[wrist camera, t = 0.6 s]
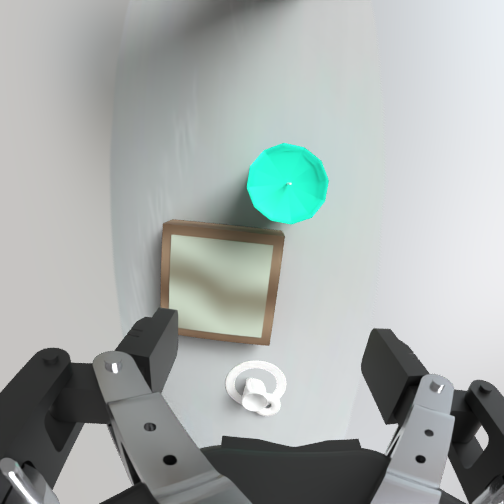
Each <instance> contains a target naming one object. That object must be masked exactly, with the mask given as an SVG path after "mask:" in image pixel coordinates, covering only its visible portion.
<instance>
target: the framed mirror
mask: <svg viewBox="0 0 504 504" xmlns="http://www.w3.org/2000/svg"><path fill="white" fill-rule="evenodd" d="M284 239H285V236H284V234H283V232H282V231H280V230H271V229H262V228H253V227H244V226H234V225H225V224H215V223H205V222H195V221H184V220H174V219H172V220H170V221H168V222H166V223H163V233H162V256H161V308H168V309H174V310H178V335H183V336H190V337H197V338H204V339H212V340H220V341H228V342H237V343H246V344H257V345H267V346H269V344H270V338H271V331H272V324H273V318H274V311H275V304H276V297H277V290H278V283H279V276H280V269H281V261H282V254H283V246H284Z"/></svg>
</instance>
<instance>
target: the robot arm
mask: <svg viewBox="0 0 504 504" xmlns="http://www.w3.org/2000/svg"><path fill="white" fill-rule="evenodd" d="M177 351H178V310H174V309H168V308H161V307H159V308H158V310H157V311H156V312H155V314H154V315H153V317H152V318H149V317H144V318H143V319H141V320H139V321H137V322H136V323H135V324H134V326H133V327H132V328H131V330H130V331H129V332H128V333H127V335H126V336H125V337H124V339H123V340H122V341H121V343H120V344H119V345H118V347H117V348H116V349H115V351H108V352H104V353H101V354H99V355H98V356H96V357H95V359H94V360H93V363H89V364H88V363H87V364H86V363H71V360H70V356H69V354H68V353H67V352H66V351H64V350H62V349H59V348H47V349H43V350H41V351H39V352H37V353H36V354H35V355H34V356H33V357H32V358H31V359H30V360H29V362H27V364H26V365H25V366H24V367H23V368H22V369H21V370H20V371H19V372H18V373H17V374H16V376H15V377H14V378H13V379H12V380H11V381H10V382H9V384H8V385H7V386H6V387H5V388H4V389H3V390H2V392H1V393H0V504H60V503H59V500H58V498H57V496H56V495H55V493H54V492H53V491H52V490H53V487H54V485H55V483H56V481H57V479H58V476H59V474H60V472H61V470H62V468H63V466H64V463H65V462H66V459H67V457H68V455H69V453H70V451H71V449H72V447H73V445H74V443H75V441H76V439H77V437H78V435H79V433H80V431H81V429H82V427H83V425H84V423H99V424H107V427H108V430H109V432H110V434H111V437H112V440H113V442H114V444H115V446H116V449H117V451H118V453H119V456H120V458H121V460H122V462H123V465H124V467H125V469H126V472H127V474H128V477H129V479H130V481H131V483H132V485H133V486H132V487H130V488H128V489H126V490H125V491H123V492H121V493H119V494H117V495H115V496H113V497H111V498H109V499H107V500H106V501H104V502H101V503H99V504H466V503H464V502H462V501H460V500H459V499H457V498H455V497H453V496H452V495H450V494H448V493H446V492H445V491H443V490H441V489H440V488H439V486H440V482H441V479H442V475H443V471H444V468H445V464H446V460H447V456H448V458H449V459H450V462H451V464H452V466H453V468H454V470H455V473H456V475H457V477H458V479H459V481H460V483H461V486H462V488H463V491H464V493H465V495H466V497H467V500H468V502H469V504H504V397H503V396H502V395H501V394H500V392H499V391H498V390H497V388H496V387H495V386H493V385H492V384H490V383H489V382H486V381H483V380H475V381H473V382H472V383H471V385H470V387H469V389H468V390H467V391H462V390H454V387H453V384H452V383H451V382H450V381H449V380H448V379H446V378H445V377H443V376H440V375H436V374H429V372H428V371H427V370H426V368H425V367H424V366H423V364H422V363H421V362H420V360H418V358H417V357H416V355H415V354H413V351H412V350H411V349H410V348H409V346H407V345H406V344H405V343H403V342H402V341H400V340H399V339H398V338H397V337H396V336H395V334H394V333H393V332H392V330H391V329H373V330H372V331H371V333H370V336H369V339H368V343H367V346H366V349H365V352H364V355H363V358H362V363H361V371H362V374H363V376H364V378H365V381H366V383H367V385H368V387H369V389H370V391H371V393H372V396H373V398H374V400H375V402H376V404H377V406H378V409H379V411H380V413H381V415H382V417H383V420H384V422H385V424H386V425H387V424H396V423H398V428H397V429H396V431H395V433H394V435H393V437H392V439H391V441H390V443H389V445H388V448H387V450H386V452H385V454H382V453H379V452H377V451H373V450H369V449H364V448H361V446H360V443H359V440H358V439H350V440H327V441H323V442H319V443H314V444H309V445H304V446H299V447H290V446H285V445H281V444H276V443H272V442H268V441H264V440H260V439H251V438H239V437H229V436H222V443H221V445H217V446H209V447H204V448H200V449H199V448H198V447H197V445H196V444H195V443H194V441H193V440H192V439H191V437H190V436H189V434H188V433H187V432H186V430H185V429H184V427H183V426H182V424H181V423H180V422H179V420H178V419H177V417H176V416H175V414H174V413H173V411H172V410H171V408H170V407H169V405H168V404H167V402H166V401H165V399H164V398H163V396H162V395H161V392H162V390H163V388H164V385H165V383H166V380H167V378H168V375H169V373H170V371H171V368H172V366H173V363H174V361H175V359H176V356H177ZM481 425H482V426H483V428H484V429H485V431H486V432H487V434H488V436H489V442H488V445H487V447H486V449H485V450H484V451H483V449H482V448H481V446H480V444H479V442H478V441H477V439H476V437H475V436H474V435H475V434H476V433H477V431H478V429H479V428H480V426H481Z"/></svg>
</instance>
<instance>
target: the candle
mask: <svg viewBox="0 0 504 504" xmlns="http://www.w3.org/2000/svg"><path fill="white" fill-rule="evenodd" d="M328 182H329V180H328V177H327V175H326V172H325V169H324V167H323V164H322V161H321V160H320V159H318V158H317V157H316V156H315V155H313V154H312V153H311V152H310V151H308V150H307V149H306V148H304V147H300V146H296V145H291V144H287V143H282V144H280V145H277V146H274V147H271V148H269V149H266V150H264V151H263V152H262V153H261V154H260V155H259V156H258V158H257V159H256V160H255V161H254V162H253V163H252V165H251V166H250V170H249V176H248V182H247V190H248V192H249V195H250V197H251V200H252V203H253V205H254V208H256V209H257V210H258V211H259V212H261V213H262V214H263V215H264V216H266V217H267V218H268V219H269V220H271V221H276V222H281V223H287V224H294V223H297V222H300V221H303V220H306V219H309V218H312V217H313V216H314V214H315V213H316V212H317V211H318V209H319V208H320V207H321V206H322V204H323V203H324V202H325V199H326V193H327V188H328Z"/></svg>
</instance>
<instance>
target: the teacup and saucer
mask: <svg viewBox="0 0 504 504" xmlns="http://www.w3.org/2000/svg"><path fill="white" fill-rule="evenodd" d="M251 368H260V369H264V370H267V371H269V372H270V373H272V374H273V375H274V377H275V378H276V381H277V387H276V390H275V391H274V393H273V394H269V393H267V392H266V388H265V385H264V384H263V382H262V381H261V380H259V379H253V378H248V379H246V385H245V388H244V391H243V397H242V396H241V395H240V394H239V393H238V392H237V391H236V389H235V379H236V377H237V376H238V375H239V374H240V373H241V372H243V371H245V370H247V369H251ZM225 385H226V390H227V392H228V394H229V395H230V397H231V398H232V399H233V400H235V401H236V402H238V403H240V404H242V405H243V406H244V408H246V409H247V410H250V411H256V412H257V413H258V414H259V415H262V416H272V415H274V414H276V413H277V412H278V411H279V409H280V407H281V403H280V400H279V398H280V397H281V396H282V395H283V394H284V392H285V389H286V378H285V376H284V374H283V373H282V371H281V370H280V369H279V368H277V367H276V366H274V365H273V364H270V363H268V362H264V361H248V362H244V363H241V364H239V365H237V366H236V367H234V368H233V369H232V370H231V371H230V372H229V374H228V375H227V378H226V382H225ZM270 404H271V407H270V408H265V407H266V406H267V405H270Z"/></svg>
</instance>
